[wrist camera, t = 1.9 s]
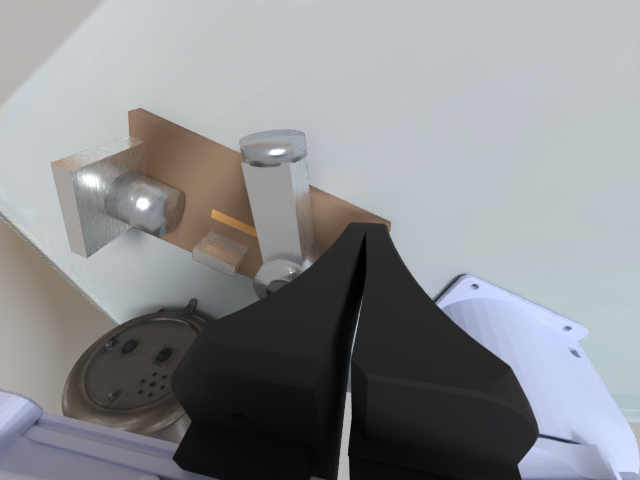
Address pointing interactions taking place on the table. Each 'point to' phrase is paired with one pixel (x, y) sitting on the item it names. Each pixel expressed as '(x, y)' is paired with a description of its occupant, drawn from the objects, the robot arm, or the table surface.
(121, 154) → the square plate with knob
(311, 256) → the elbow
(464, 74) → the table surface
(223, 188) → the board
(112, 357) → the alarm clock
